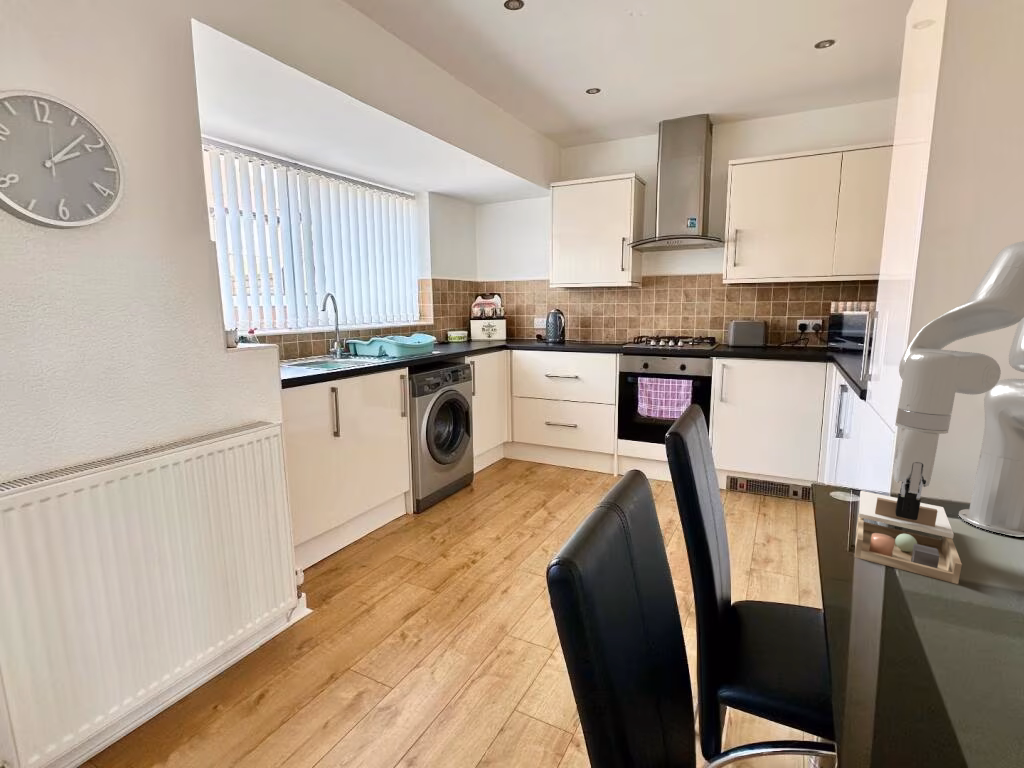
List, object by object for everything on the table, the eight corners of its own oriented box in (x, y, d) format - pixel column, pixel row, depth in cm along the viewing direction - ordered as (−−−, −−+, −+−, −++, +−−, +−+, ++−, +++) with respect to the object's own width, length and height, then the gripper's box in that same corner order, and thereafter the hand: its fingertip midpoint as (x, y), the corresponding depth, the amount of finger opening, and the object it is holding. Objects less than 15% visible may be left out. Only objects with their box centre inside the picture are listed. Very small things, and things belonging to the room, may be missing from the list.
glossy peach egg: (874, 547, 94) (876, 531, 93) (895, 555, 91) (898, 539, 91) (865, 551, 92) (868, 535, 92) (886, 560, 89) (889, 543, 89)
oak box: (856, 529, 103) (859, 510, 103) (945, 550, 95) (949, 530, 95) (854, 559, 90) (857, 538, 90) (957, 587, 82) (961, 564, 82)
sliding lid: (860, 494, 111) (862, 477, 111) (942, 510, 104) (945, 493, 103) (858, 517, 98) (861, 498, 98) (953, 538, 91) (956, 518, 90)
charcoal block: (911, 560, 90) (913, 543, 89) (934, 566, 88) (937, 548, 87) (912, 567, 87) (915, 550, 87) (936, 573, 85) (939, 556, 85)
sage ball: (898, 545, 95) (901, 529, 95) (918, 552, 93) (921, 536, 92) (890, 549, 94) (893, 532, 93) (911, 556, 91) (914, 540, 90)
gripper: (894, 411, 100) (880, 500, 102) (898, 424, 87) (881, 524, 90) (944, 417, 95) (927, 509, 98) (955, 432, 83) (936, 537, 86)
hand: (905, 516), depth 94 cm, fingers closed
